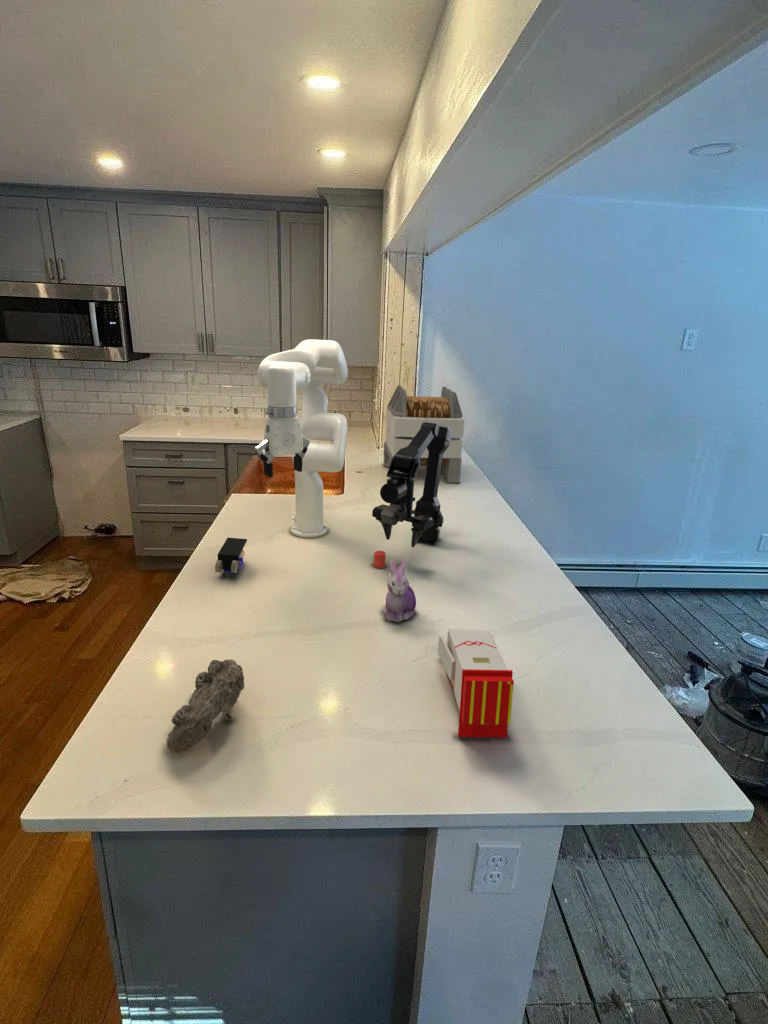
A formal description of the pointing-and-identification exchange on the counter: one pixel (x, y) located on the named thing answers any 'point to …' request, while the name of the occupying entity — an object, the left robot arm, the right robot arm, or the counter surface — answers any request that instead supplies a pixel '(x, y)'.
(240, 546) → the figurine character
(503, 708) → the toy
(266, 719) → the counter surface
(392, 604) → the figurine
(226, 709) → the fossil
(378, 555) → the can
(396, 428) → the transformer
